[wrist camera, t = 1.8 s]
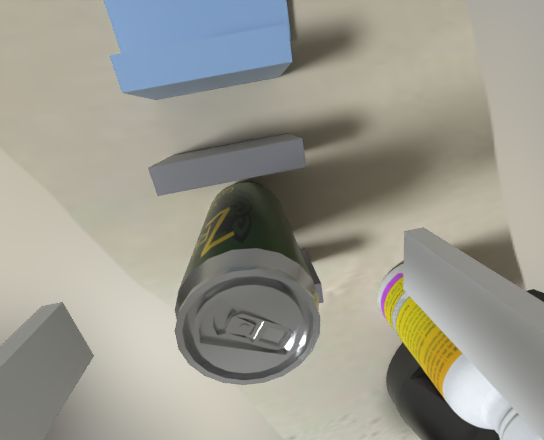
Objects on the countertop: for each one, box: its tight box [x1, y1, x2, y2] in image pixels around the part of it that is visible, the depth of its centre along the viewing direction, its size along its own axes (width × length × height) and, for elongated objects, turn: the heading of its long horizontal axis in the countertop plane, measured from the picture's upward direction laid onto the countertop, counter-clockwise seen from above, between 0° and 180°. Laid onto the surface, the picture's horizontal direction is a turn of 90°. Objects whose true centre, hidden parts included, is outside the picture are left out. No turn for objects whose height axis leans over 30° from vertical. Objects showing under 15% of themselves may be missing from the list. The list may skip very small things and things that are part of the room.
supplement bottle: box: [378, 263, 542, 440], centre depth 18 cm, size 7×7×13 cm
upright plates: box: [110, 24, 323, 303], centre depth 15 cm, size 24×8×5 cm, turn 10°
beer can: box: [175, 182, 320, 385], centre depth 15 cm, size 5×5×12 cm
